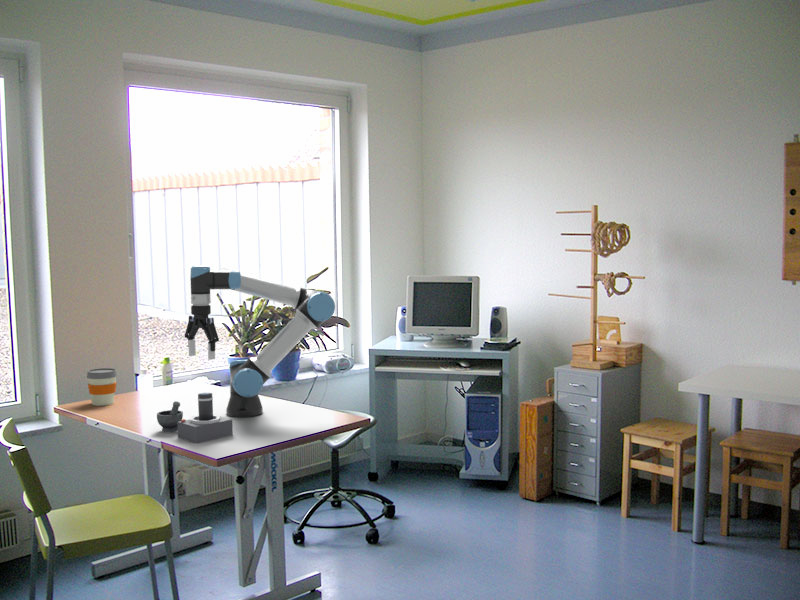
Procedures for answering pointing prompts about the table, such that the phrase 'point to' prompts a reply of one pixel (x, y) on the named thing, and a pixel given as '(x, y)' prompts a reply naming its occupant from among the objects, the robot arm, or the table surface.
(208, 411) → the lens
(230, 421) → the dark grey box
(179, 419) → the mortar and pestle
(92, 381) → the reusable coffee cup
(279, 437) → the table surface
